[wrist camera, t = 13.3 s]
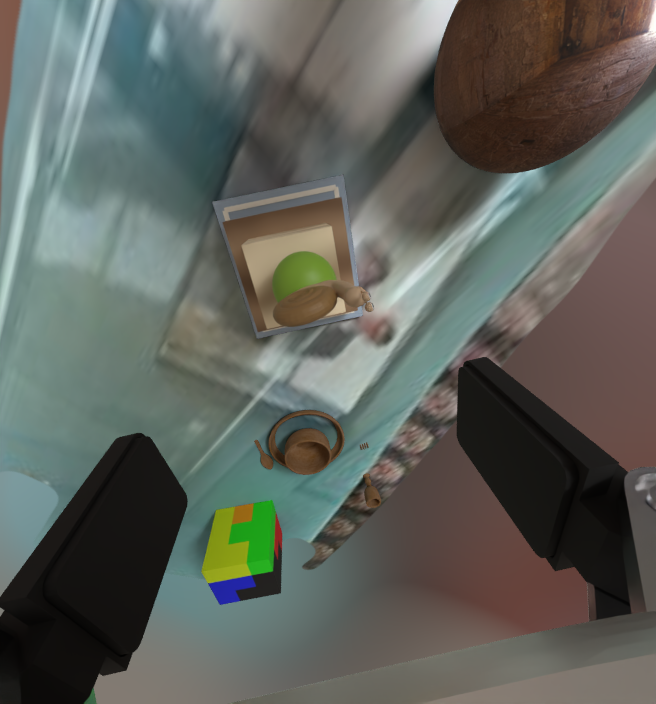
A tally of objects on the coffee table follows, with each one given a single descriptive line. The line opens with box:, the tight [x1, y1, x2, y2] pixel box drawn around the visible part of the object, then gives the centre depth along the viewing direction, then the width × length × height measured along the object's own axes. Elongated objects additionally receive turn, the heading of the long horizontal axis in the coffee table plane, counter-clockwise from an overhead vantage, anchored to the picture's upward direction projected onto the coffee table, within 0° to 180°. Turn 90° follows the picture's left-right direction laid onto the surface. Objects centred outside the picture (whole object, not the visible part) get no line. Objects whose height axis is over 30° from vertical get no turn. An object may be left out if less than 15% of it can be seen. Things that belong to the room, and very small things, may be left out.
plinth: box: [222, 197, 358, 332], centre depth 31 cm, size 12×12×8 cm
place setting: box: [254, 410, 381, 508], centre depth 47 cm, size 18×20×6 cm
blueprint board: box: [212, 175, 363, 339], centre depth 35 cm, size 16×14×1 cm
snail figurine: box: [272, 251, 374, 327], centre depth 22 cm, size 5×6×12 cm
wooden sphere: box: [434, 0, 656, 173], centre depth 23 cm, size 15×15×15 cm
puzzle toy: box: [201, 500, 282, 605], centre depth 51 cm, size 10×10×10 cm
